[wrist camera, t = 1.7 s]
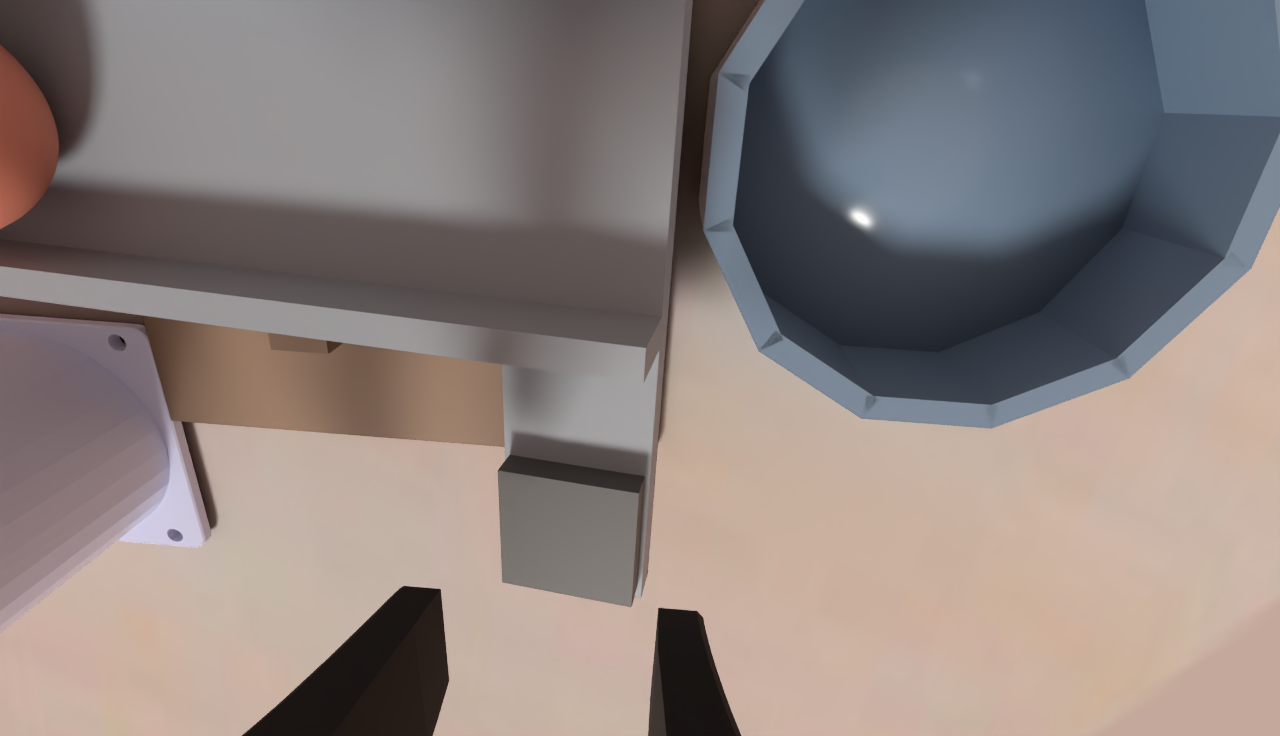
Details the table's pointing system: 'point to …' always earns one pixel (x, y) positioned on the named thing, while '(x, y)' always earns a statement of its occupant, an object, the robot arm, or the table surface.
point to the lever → (392, 212)
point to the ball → (23, 141)
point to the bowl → (987, 190)
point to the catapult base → (323, 385)
